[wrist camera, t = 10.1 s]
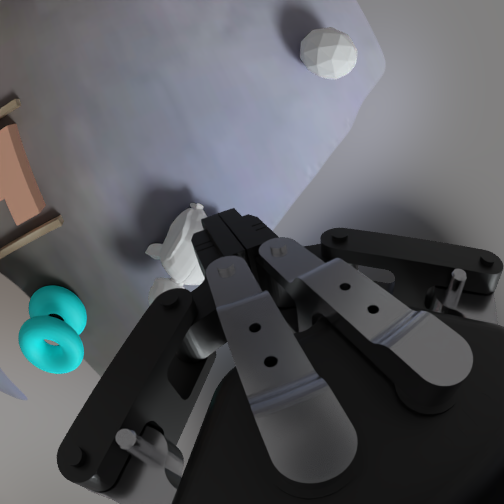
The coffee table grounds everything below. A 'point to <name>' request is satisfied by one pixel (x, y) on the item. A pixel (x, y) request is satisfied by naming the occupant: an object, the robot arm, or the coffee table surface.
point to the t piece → (17, 177)
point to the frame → (42, 228)
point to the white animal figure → (178, 253)
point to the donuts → (54, 330)
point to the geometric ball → (328, 53)
